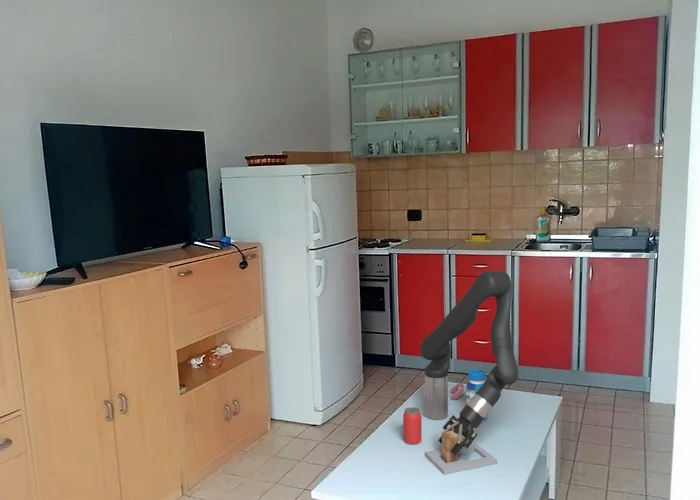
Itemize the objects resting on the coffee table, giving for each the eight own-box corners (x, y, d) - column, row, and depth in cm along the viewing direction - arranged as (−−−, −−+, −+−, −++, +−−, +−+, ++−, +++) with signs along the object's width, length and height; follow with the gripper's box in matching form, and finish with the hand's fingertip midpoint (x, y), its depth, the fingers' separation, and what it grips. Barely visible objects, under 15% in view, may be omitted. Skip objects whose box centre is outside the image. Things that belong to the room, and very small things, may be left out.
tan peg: (452, 458, 200) (452, 430, 199) (457, 463, 196) (457, 435, 195) (441, 460, 199) (441, 432, 198) (447, 465, 195) (447, 437, 194)
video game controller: (459, 404, 252) (466, 390, 251) (449, 399, 252) (457, 385, 251) (458, 395, 262) (465, 382, 260) (449, 391, 262) (456, 378, 261)
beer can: (423, 439, 215) (423, 408, 214) (418, 446, 209) (417, 414, 208) (407, 436, 218) (406, 405, 217) (401, 443, 212) (400, 412, 211)
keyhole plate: (474, 446, 208) (474, 442, 208) (496, 463, 195) (496, 459, 195) (424, 456, 202) (424, 451, 202) (443, 474, 189) (443, 470, 189)
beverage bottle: (486, 425, 226) (486, 375, 224) (464, 422, 229) (464, 373, 226) (488, 417, 234) (488, 369, 231) (467, 414, 237) (467, 367, 234)
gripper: (458, 397, 204) (429, 433, 202) (480, 412, 191) (449, 451, 188) (471, 409, 207) (443, 445, 204) (494, 425, 193) (463, 463, 191)
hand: (446, 448), depth 196 cm, fingers open, 8 cm apart
